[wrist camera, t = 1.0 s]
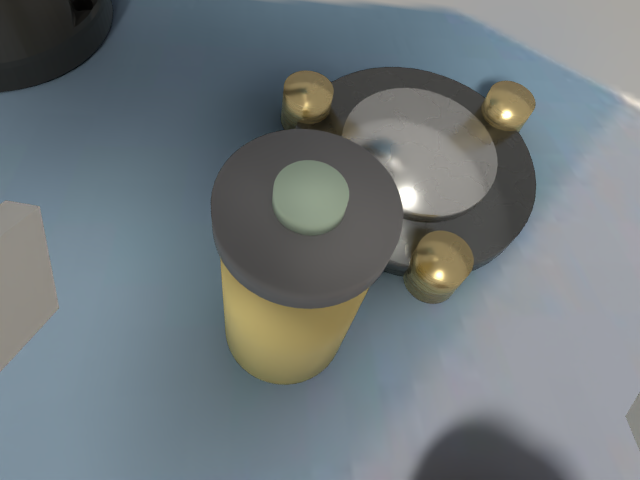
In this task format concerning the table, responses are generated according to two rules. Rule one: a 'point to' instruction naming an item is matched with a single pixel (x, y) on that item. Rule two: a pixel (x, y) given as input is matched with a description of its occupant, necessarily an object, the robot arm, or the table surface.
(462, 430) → the table surface
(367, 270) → the yellow battery cell
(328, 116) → the tribrach
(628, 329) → the table surface
